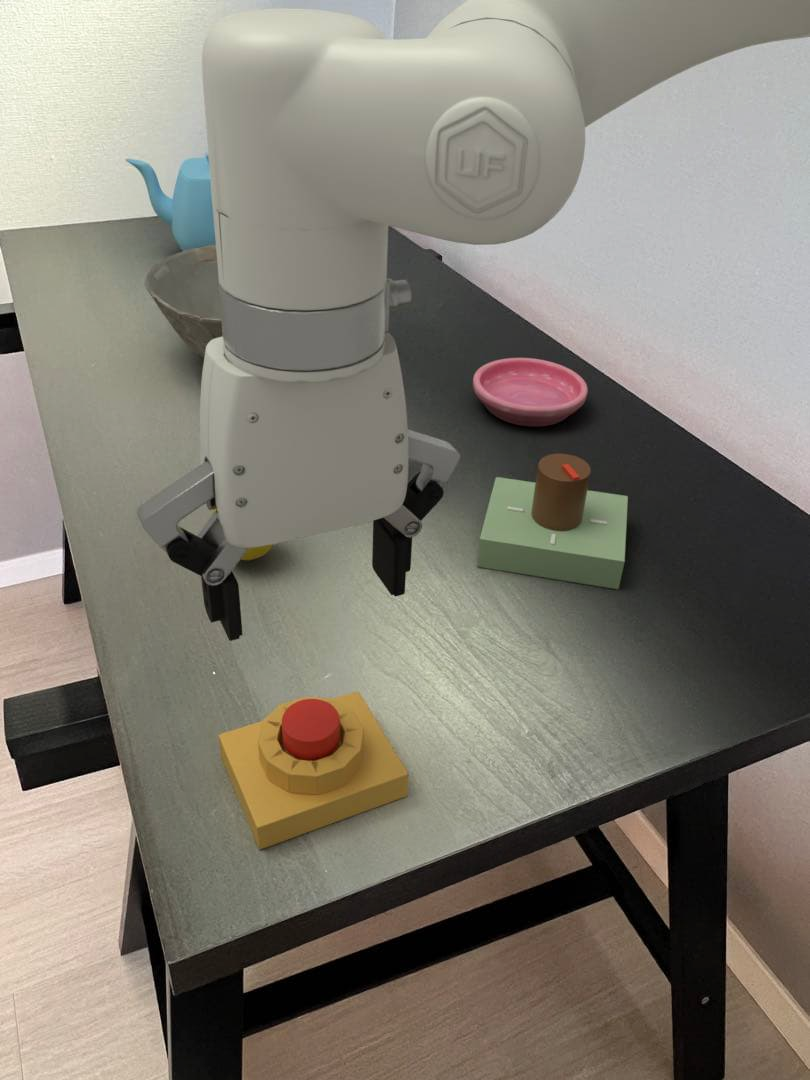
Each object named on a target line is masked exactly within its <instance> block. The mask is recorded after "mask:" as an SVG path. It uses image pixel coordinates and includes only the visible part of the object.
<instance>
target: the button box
mask: <svg viewBox="0 0 810 1080" xmlns="http://www.w3.org/2000/svg"><path fill="white" fill-rule="evenodd" d="M305 699H319V700H323V701H326V702H328V703H329V704H331V705H332V706H333V707H334V708H335V709H336V710H337V712H338V714H339V717H340V741H339V744H338V746H337V748H336V749H335V750H334V751H333V752H332V753H331V754H330V755H328V756H326V757H324V758H321V759H317V760H303V759H299V758H296V757H294V756H293V755H291V754H290V753H289V752H288V751H287V750H286V749H285V747H284V744H283V737H282V717H283V714H284V712H285V711H286V709H287V708H288V707H290V706H291V705H292V704H294V703H296V702H298V701H301V700H305ZM217 738H218V744H219V745H218V747H219V753H220V758H221V761H222V763H223V766H224V769H225V771H226V773H227V775H228V779H229V780H230V783H231V786H232V788H233V790H234V793H235V794H236V798H237V800H238V802H239V805H240V807H241V810H242V812H243V814H244V817H245V819H246V822H247V823H248V827H249V829H250V831H251V834H252V837H253V839H254V841H255V844H256V846H257V848H258V851H259V850H260V851H261V850H263V849H266V848H269V847H272V846H275V845H277V844H279V843H282V842H286V841H289V840H290V839H293V838H296V837H299V836H302V835H304V834H308V833H309V832H312V831H315V830H318V829H321V828H324V827H326V826H329V825H331V824H335V823H337V822H340V821H342V820H345V819H349V818H350V817H354V816H356V815H359V814H362V813H365V812H367V811H370V810H372V809H375V808H378V807H381V806H384V805H386V804H390V803H392V802H394V801H398V800H400V799H402V798H406V797H407V796H408V788H409V787H408V786H409V773H408V771H407V769H406V767H405V766H404V764H403V763H402V761H401V759H400V758H399V756H398V754H397V752H396V750H395V749H394V747H393V746H392V744H391V742H390V741H389V738H388V737H387V736H386V734H385V732H384V731H383V729H382V728H381V726H380V724H379V722H378V721H377V719H376V717H375V716H374V714H373V712H372V711H371V709H370V708H369V705H368V704H367V702H366V701H365V699H364V697H363V696H362V694H361V692H360V691H359V690H356V691H352V692H350V693H346V694H343V695H341V696H337V697H334V698H328V697H327V698H325V697H315V696H303V697H300V698H297V699H293V700H291V701H287V702H284V703H282V704H281V703H280V705H278V706H277V707H276V708H275V709H274V710H273V711H272V712H270V713H269V714H268V715H267V716H266V717H265V718H264V719H263V720H260V721H258V722H254V723H250V724H248V725H244V726H241V727H238V728H235V729H232V730H229V731H225V732H222V733H220V734H218V735H217Z"/></svg>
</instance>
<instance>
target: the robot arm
mask: <svg viewBox="0 0 810 1080" xmlns="http://www.w3.org/2000/svg"><path fill="white" fill-rule="evenodd" d="M804 38H810V0H466V1H464V2H463V3H462V4H461V5H459V6H458V7H456V8H455V9H454V10H452V12H450V13H449V14H447V15H446V16H445V17H444V18H443V19H442V20H441V21H440V22H439V23H438V24H437V25H436V26H435V27H434V28H433V29H432V30H431V31H430V32H429V34H427V36H426V37H425V38H423V37H422V38H397V39H396V38H395V39H394V38H393V39H392V38H390V39H388V38H386V37H385V35H384V34H383V32H382V31H381V30H380V29H379V28H378V27H377V26H376V25H375V24H373V23H372V22H370V21H368V20H366V19H364V18H361V17H359V16H357V15H353V14H348V13H343V12H337V11H330V10H323V9H312V8H294V7H293V8H291V7H290V8H289V7H285V8H284V7H280V8H279V7H277V8H276V7H275V8H261V9H249V10H243V11H238V12H235V13H232V14H229V15H227V16H224V17H221V18H220V19H218V20H217V22H215V23H214V24H213V25H212V26H211V28H210V29H209V31H208V33H207V34H206V37H205V39H204V42H203V46H202V52H201V65H202V66H201V70H202V71H201V72H202V75H201V76H202V91H203V102H204V103H203V104H204V114H205V128H206V141H207V152H208V155H209V167H210V180H211V193H212V205H213V217H214V229H215V240H216V252H217V263H218V276H219V296H220V309H221V322H222V334H223V337H218V338H215V339H212V340H211V341H210V342H209V343H208V344H207V346H206V351H205V357H203V365H202V373H201V383H200V397H199V399H200V400H199V463H200V464H199V465H197V467H195V468H194V469H193V470H191V471H189V472H188V473H186V474H185V475H184V476H182V477H181V478H179V479H178V480H176V481H175V482H173V483H171V484H170V485H169V486H167V487H166V488H164V489H163V490H161V491H160V492H158V493H157V494H155V495H154V496H152V497H150V499H148V500H146V501H145V502H144V503H142V504H140V506H139V507H138V509H137V512H136V514H137V517H138V519H139V521H140V525H141V526H142V528H143V530H144V531H145V533H146V534H147V535H148V536H149V537H150V538H151V539H152V540H153V541H154V543H156V544H157V546H158V547H159V548H160V549H162V550H163V551H164V553H165V554H166V555H167V556H168V558H169V560H170V562H172V563H174V564H177V565H178V566H180V567H182V568H185V569H187V570H188V571H190V572H192V573H194V574H196V575H198V576H200V578H201V579H200V580H201V588H202V596H203V597H202V598H203V604H204V608H205V612H206V614H207V617H208V620H209V621H210V623H217V622H220V624H221V627H222V628H223V630H224V632H225V635H226V636H227V639H228V641H229V642H232V641H236V640H239V639H241V638H240V636H241V637H242V636H243V625H242V624H243V623H242V611H241V600H240V599H241V598H240V586H239V582H238V580H237V577H236V576H235V573H234V572H233V570H234V569H235V568H236V566H237V565H238V564H239V562H240V561H242V560H241V558H242V557H243V556H244V554H245V553H246V552H247V551H248V549H249V548H254V547H262V546H267V545H271V544H274V545H276V544H280V543H284V542H290V541H295V540H298V539H303V538H307V537H311V536H316V535H320V534H325V533H329V532H334V531H336V530H341V529H345V528H350V527H353V526H357V525H361V524H366V523H369V522H372V553H371V554H372V557H371V558H372V559H371V560H372V561H371V566H372V570H373V572H374V573H375V575H377V577H378V578H379V580H380V581H381V583H382V584H383V586H384V587H385V589H386V590H387V592H388V593H389V594H390V595H391V596H394V597H396V598H397V597H400V596H403V595H405V593H406V579H407V578H406V577H407V573H408V572H410V571H411V567H412V551H413V538H414V537H416V536H418V534H420V532H421V531H422V529H423V522H422V521H423V520H424V518H425V517H426V516H427V515H428V514H429V513H430V512H431V511H432V510H433V509H434V508H435V506H437V505H438V503H439V502H440V501H441V500H442V499H443V497H444V493H445V491H444V487H445V485H447V484H448V483H449V481H450V480H451V477H452V476H453V474H454V472H455V471H456V468H457V467H458V465H459V464H460V461H461V454H460V452H459V451H458V450H457V449H456V448H455V447H454V446H453V445H452V444H451V443H450V442H448V441H447V440H443V439H440V438H438V437H434V436H431V435H427V434H424V433H420V432H418V431H414V430H411V429H409V428H408V427H409V426H408V414H407V401H406V394H405V388H404V387H405V386H404V382H403V375H402V368H401V363H400V358H399V357H400V356H399V353H398V347H397V343H396V339H395V338H394V337H393V335H391V333H390V317H391V314H393V313H396V312H397V311H398V310H400V309H406V308H409V307H410V306H411V304H412V290H411V286H410V283H409V282H408V281H407V280H406V279H398V280H393V279H392V278H388V276H387V275H388V247H389V246H388V245H389V244H388V243H389V227H393V228H396V229H400V230H404V231H408V232H412V233H414V234H419V235H423V236H425V237H431V238H435V239H439V240H442V241H447V242H452V243H457V244H466V245H472V246H473V245H474V246H487V245H489V246H490V245H491V246H492V245H502V244H506V243H510V242H513V241H517V240H519V239H523V238H526V237H528V236H529V235H532V234H533V233H535V232H537V231H539V230H540V229H541V228H543V227H544V226H545V225H546V224H548V223H549V222H550V221H551V220H552V219H554V218H555V217H556V216H557V215H558V213H560V211H561V210H562V209H563V208H564V207H565V205H566V203H567V202H568V200H569V199H570V197H572V194H573V192H574V189H575V188H576V186H577V183H578V182H579V178H580V175H581V172H582V168H583V163H584V158H585V149H586V128H587V127H588V126H590V125H592V124H593V123H595V122H596V121H599V120H600V119H601V118H603V117H605V116H606V115H608V114H610V113H611V112H613V111H615V110H616V109H618V108H620V107H622V106H623V105H625V104H626V103H628V102H630V101H632V100H633V99H635V98H636V97H638V96H640V95H641V94H643V93H645V92H647V91H648V90H650V89H653V88H654V87H656V86H658V85H659V84H662V83H664V82H665V81H667V80H669V79H671V78H673V77H675V76H677V75H679V74H681V73H683V72H685V71H687V70H689V69H691V68H694V67H696V66H699V65H701V64H703V63H706V62H709V61H711V60H713V59H716V58H718V57H721V56H724V55H726V54H730V53H733V52H735V51H738V50H739V51H740V50H742V49H745V48H750V47H753V46H758V45H763V44H767V43H773V42H781V41H789V40H795V39H797V40H798V39H804ZM409 461H412V462H415V463H418V464H422V466H421V467H420V470H421V471H418V472H417V473H416V474H415V475H414V476H413V477H412V478H411V479H410V480H409ZM204 505H206V507H207V509H208V510H209V511H213V509H217V510H216V511H215V513H214V514H213V515H212V514H211V517H210V518H209V519H208V521H207V522H205V524H204V526H203V527H202V529H201V530H200V531H199V533H198V534H197V535H196V534H194V533H193V532H191V531H188V530H187V529H184V528H183V527H182V526H179V523H180V522H181V521H182V520H183V519H185V518H186V517H187V516H189V515H191V514H192V513H194V512H196V510H198V509H199V508H201V507H202V506H204Z"/></svg>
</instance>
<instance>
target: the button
mask: <svg viewBox="0 0 810 1080" xmlns="http://www.w3.org/2000/svg"><path fill="white" fill-rule="evenodd" d="M282 737H283V744H284V747H285V749H286V750H287V751H288V752H289V753H290V754H291V755H293V756H294V757H296V758H299V759H303V760H317V759H321V758H324V757H326V756H328V755H330V754H331V753H332V752H333V751H334V750H335V749H336V748H337V746H338V744H339V741H340V717H339V714H338V712H337V710H336V709H335V708H334V707H333V706H332V705H331V704H329V703H328V702H326V701H323V700H319V699H305V700H301V701H298V702H296V703H294V704H292V705H291V706H290V707H288V708H287V709H286V711H285V712H284V714H283V717H282Z"/></svg>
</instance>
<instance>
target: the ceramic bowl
mask: <svg viewBox="0 0 810 1080" xmlns="http://www.w3.org/2000/svg"><path fill="white" fill-rule="evenodd" d="M144 287H145V289H146V291H147V292H148V293H149V295H150V297H151V298H152V300H153V301H154V302H155V304H156V305H157V307H158V309H159V310H160V312H161V314H162V315H163V316H164V317H165V319H166V320H167V322H169V324H170V326H171V327H172V329H173V331H175V333H176V334H177V335H178V336H179V338H180V339H181V340H182V342H184V343H185V344H186V345H187V346H188V348H190V349H191V350H192V351H193V352H194V353H195V354H197V355H199V356H200V357H202V358H204V357H205V351H206V346H207V344H208V343H209V342H210V341H211V340H212V339H215V338H218V337H223V334H222V322H221V309H220V296H219V276H218V263H217V252H216V245H209V246H206V247H202V248H196V249H194V248H192V249H188V250H185V251H182V250H181V251H180V252H176V253H175V254H171V255H169V256H168V257H166V258H164V259H162V260H161V261H159V262H157V263H155V264H154V265H152V266H151V268H149V269H148V271H147V272H146V274H145V277H144Z"/></svg>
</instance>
